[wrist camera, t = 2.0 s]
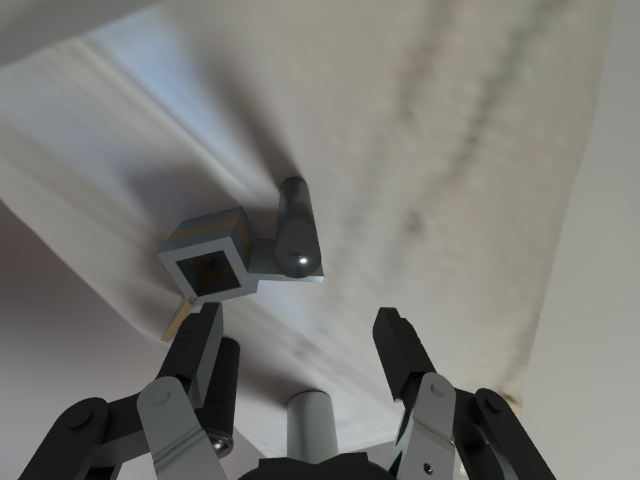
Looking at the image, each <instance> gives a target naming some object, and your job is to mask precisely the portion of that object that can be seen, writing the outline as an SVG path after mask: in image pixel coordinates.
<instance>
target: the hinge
mask: <svg viewBox="0 0 640 480" xmlns="http://www.w3.org/2000/svg"><path fill="white" fill-rule="evenodd" d="M275 245H276V240H266V239H255V236H254V234H253V232H252V229H251V227H250V224H249V222H248V219H247V217H246V215H245V212H244V210H243V207H239V208H235V209H231V210H227V211H223V212H219V213H215V214H211V215H207V216H203V217H199V218H195V219H190V220H186V221H183V222H182V223H181V224H180V226H179V227H178V228H177V229H176V231H175V232H174V233H173V234H172V235H171V237H170V238H169V239H168V240H167V242H166V243H165V244H164V245H163V247H162V248H161V249H160V250H159V251H158V253H157V254H156V255H157V257H158V258H159V259H160V261H161V262H162V264H163V265H164V267H165V268H166V270H167V271H168V273H169V274H170V276H171V277H172V279H173V280H174V282H175V283H176V285H177V286H178V287H179V289H180V290H181V292H182V293H183V295H184V296H183V298H182V300H181V302H180V304H179V306H178V307H177V309H176V311H175V313H174V315H173V317H172V319H171V321H170V323H169V325H168V327H167V329H166V331H165V333H164V335H163V336H162V338H161V340H163V341H166V342H168V341H169V340H170V338H171V337H172V335H173V334H174V333H175V331H176V330H177V328H178V327H179V325H180V324H181V322H182V321H183V320H184V318H185V317H186V315H187V314H188V312H189V311H190V310H191V308H193V307H198V306H202V305H203V304H204V302H219V301H223V300H227V299H231V298H236V297H240V296H244V295H248V294H252V293H257V287H258V281H259V280H276V281H302V282H323V278H324V275H323V269H322V264H320V266H319V268H318V270H317V271H316V272H315V273H313V274H312V275H310V276H308V277H305V278H300V279H295V278H289V277H286V276H284V275H283V274H281V273H280V272H279V271H278V270H277V268H276V266H275V263H274V256H275ZM221 250H223V251H224V253H225V255H226V257H223V258H219V259H214V257H213V255H212V254H211V253H212V252H216V251H221Z"/></svg>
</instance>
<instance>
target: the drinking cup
mask: <svg viewBox="0 0 640 480" xmlns="http://www.w3.org/2000/svg"><path fill="white" fill-rule="evenodd" d="M239 355H240V346H239V344H238V343H237V342H236V341H235V340H232V339H229V338H222V339H221V342H220V346H219V349H218V353H217V357H216V360H215V364H214V368H213V371H212V375H211V378H210V382H209V386H208V389H207V393H206V397H205V400H204V404H203V407H202V408H195V409H194V413H195V415H196V417H197V419H198V421H199V424H200V426H201V427H202V428H203V429H204V430H205V432H206V434H207V436H208V438H209V440H210V442H211V444H212V447H213V449H214V451H215V453H216V455H217V457H218V459H221V458H223V457H225V456H227V455H228V454H230V452H231V451H232V449H233V445H234V441H233V439H232V434H233V423H234V412H235V400H236V389H237V378H238V367H239Z"/></svg>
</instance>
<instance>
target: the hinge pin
mask: <svg viewBox="0 0 640 480" xmlns="http://www.w3.org/2000/svg"><path fill="white" fill-rule="evenodd" d="M274 263H275V266H276V268H277V270H278V271H279V272H280V273H281V274H283V275H284V276H286V277H289V278H295V279H300V278H305V277H308V276H310V275H312V274H313V273H315V272H316V271H317V270H318V268H319V266H320V264H321V252H320V247H319V242H318V237H317V231H316V226H315V221H314V215H313V210H312V205H311V200H310V194H309V189H308V185H307V183H306V182H305V181H304V180H303V179H301V178H299V177H290V178H287V179H286V180H285V181H284V182H283V183H282V185H281V191H280V201H279V212H278V223H277V234H276V245H275V256H274Z"/></svg>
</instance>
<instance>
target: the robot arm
mask: <svg viewBox="0 0 640 480" xmlns="http://www.w3.org/2000/svg"><path fill="white" fill-rule="evenodd" d="M222 334H223V312H222V303H221V302H204V304H203V306H202V309H201V311H200V313H191V314H190V315H189V316H188V317H187V318H186V319H185V320H184V321H183V322H182V324H181V326H180V328H179V330H178V333H177V334H176V337H175V339H174V342H173V343H172V345H171V347H170V349H169V352H168V354H167V356H166V358H165V361H164V362H163V365H162V367H161V369H160V371H159V373H158V375H157V377H156V378H155V380H154V381H152V382H151V383H149V384H148V385H147V386H146V387H145V388H144V389H143V390H142V391H141V392H139V393H137V394H135V395H132V396H129V397H126V398H123V399H120V400H117V401H113V402H110V403H107V402H106V401H105V400H104V399H102V398H98V397H93V398H88V399H85V400H82V401H79V402H77V403H76V404H74V405H72V406H71V407H70V408H68V409H67V410H65V411H64V412H63V413H62V414H61V415H60V416H59V418H58V419H57V420H56V422H55V423H54V425H53V426H52V428H51V429H50V431H49V433H48V434H47V436H46V437H45V439H44V440H43V442H42V443H41V445H40V446H39V448H38V449H37V451H36V452H35V454H34V456H33V457H32V459H31V460H30V462H29V464H28V465H27V466H26V468H25V469H24V471H23V473H22V474H21V476H20V477H19V479H18V480H116V479H117V476H118V474H119V471H120V469H121V466H122V463H124V462H126V461H128V460H131V459H134V458H136V457H138V456H141V455H143V454H146V453H148V452H151V455H152V458H153V462H154V468H155V472H156V476H157V479H158V480H228V479H227V477H226V475H225V473H224V470H223V468H222V466H221V464H220V462H219V460H218V457H217V455H216V453H215V451H214V449H213V447H212V444H211V442H210V440H209V438H208V436H207V434H206V432H205V430H204V429H203V428H202V427H201V426H200V424H199V421H198V419H197V417H196V415H195V413H194V409H195V408H202V407H203V404H204V400H205V397H206V393H207V389H208V386H209V382H210V378H211V375H212V371H213V368H214V364H215V360H216V357H217V353H218V349H219V346H220V342H221V339H222ZM373 339H374V342H375V345H376V348H377V351H378V354H379V357H380V360H381V363H382V366H383V369H384V372H385V375H386V378H387V381H388V384H389V387H390V390H391V393H392V396H393V399H394V402H403V404H404V406H405V409H404V412H403V415H402V418H401V422H400V425H399V428H398V432H397V435H396V439H395V442H394V445H393V449H392V451H391V454H390V457H389V459H388V461H387V464H386V466H385V469H384V468H383V467H381V466H379V465H378V464H376V463H373V462H371V461H368V457H367V452H361V453H360V452H358V453H343V454H339V451H338V444H337V436H336V429H335V421H334V413H333V406H332V400H331V398H330V396H328V395H327V394H325V393H322V392H315V391H313V392H304V393H301V394H298V395H296V396H294V397H293V398H291V399H290V400H289V402H288V405H287V457H281V458H266V459H259V467H258V468H255V469H253V470H251V471H249V472H247V473H246V474H244V475H243V476H242V477H240V478H239V479H238V480H452V478H453V469H454V459H455V446H456V448H457V451H458V453H459V456H460V458H461V461H462V463H463V465H464V468H465V470H466V473H467V475H468V477H469V480H556V478H555V477H554V475H553V474H552V472H551V470H550V469H549V467H548V466H547V464H546V463H545V461H544V460H543V458H542V456H541V455H540V453H539V452H538V450H537V448H536V447H535V446H534V444H533V442H532V441H531V439H530V438H529V436H528V435H527V433H526V431H525V430H524V428H523V427H522V425H521V423H520V422H519V420H518V419H517V417H516V416H515V414H514V413H513V411H512V409H511V408H510V406H509V405H508V403H507V402H506V401H505V400H504V399H503V398H502V397H501V396H500V395H499V394H497V393H496V392H494V391H492V390H490V389H486V388H481V389H478V390H477V391H476V393H475V394H473V393H470V392H467V391H463V390H460V389H457V388H454V387H453V386H452V384H451V383H450V382H449V381H448V380H447V379H446V378H445V377H443V376H442V375H440V374H437V372H436V370H435V368H434V366H433V364H432V362H431V360H430V359H429V357H428V355H427V353H426V351H425V349H424V347H423V345H422V344H421V341H420V339H419V337H417V333H416V331H415V329H414V328H413V326H412V325H411V324H410V323H409V322H408V321H407V320H406V319H405V318H401V317H400V315H399V313H398V311H397V309H396V308H390V307H381V308H380V309H379V311H378V314H377V317H376V320H375V323H374V326H373ZM451 441H454V444H455V446H454V445H453V444H452V443H451Z"/></svg>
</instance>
